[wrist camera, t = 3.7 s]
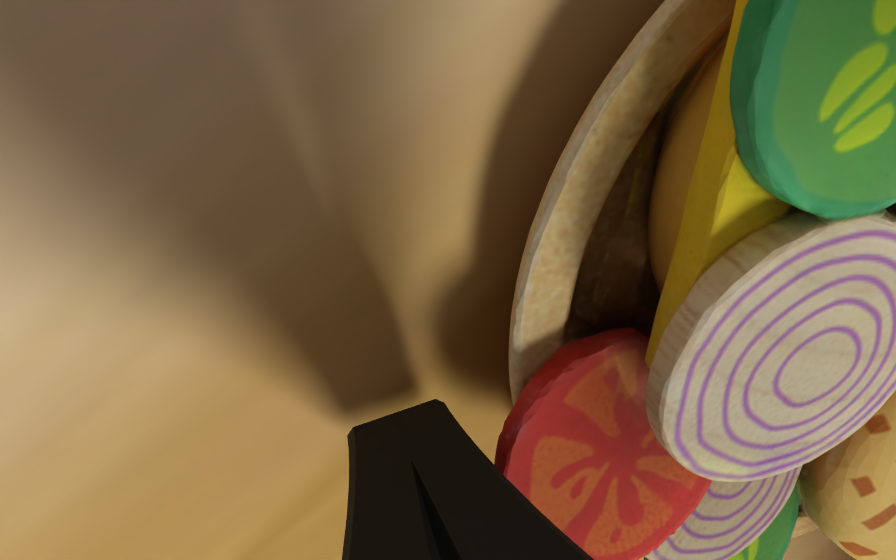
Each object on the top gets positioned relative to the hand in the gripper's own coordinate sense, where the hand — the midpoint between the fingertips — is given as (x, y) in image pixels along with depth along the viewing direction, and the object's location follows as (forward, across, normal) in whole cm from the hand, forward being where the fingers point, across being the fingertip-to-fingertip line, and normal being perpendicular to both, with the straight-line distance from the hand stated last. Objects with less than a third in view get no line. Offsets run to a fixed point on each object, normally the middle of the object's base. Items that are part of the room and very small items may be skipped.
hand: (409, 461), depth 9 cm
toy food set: (+2, -8, 0) cm, 8 cm away
